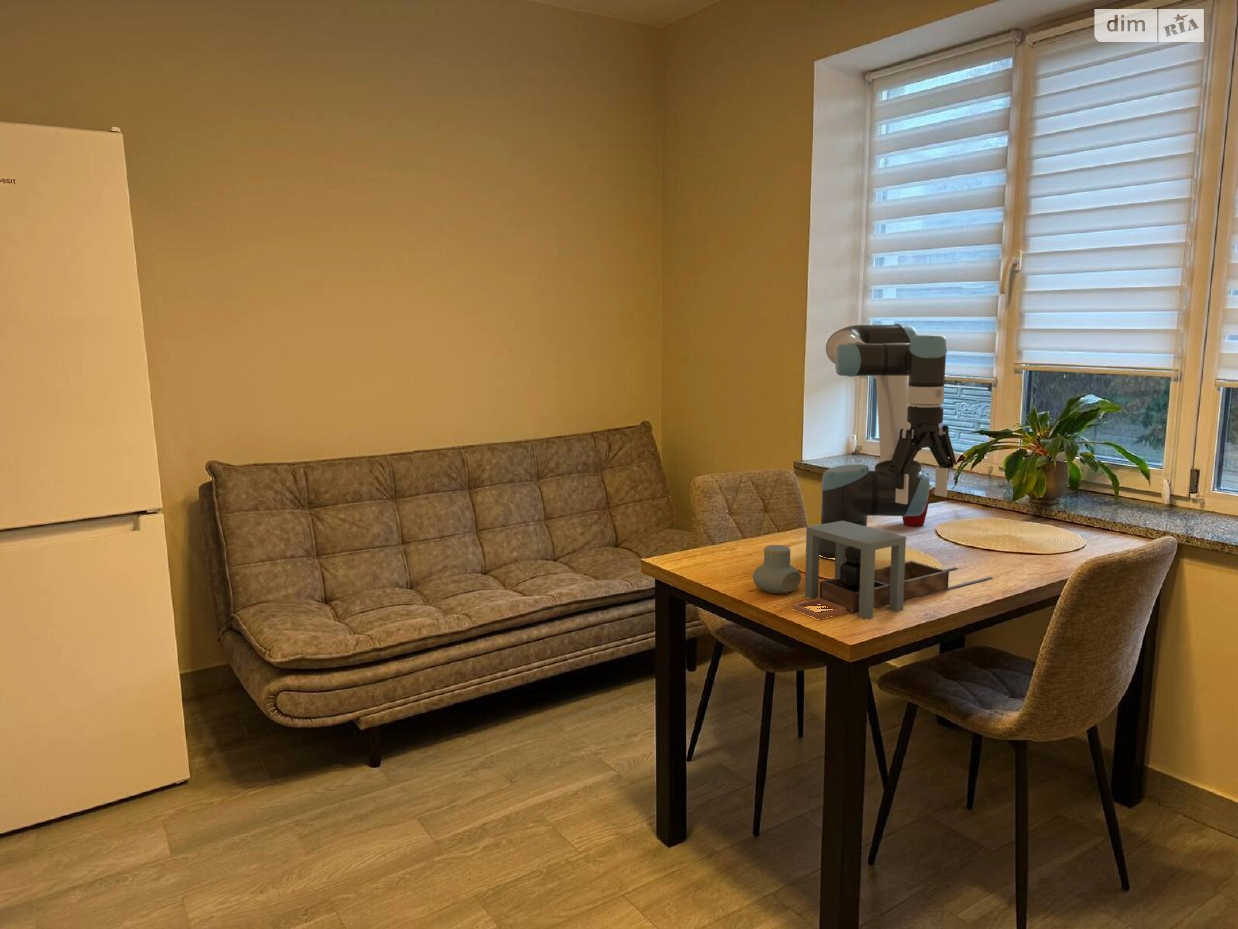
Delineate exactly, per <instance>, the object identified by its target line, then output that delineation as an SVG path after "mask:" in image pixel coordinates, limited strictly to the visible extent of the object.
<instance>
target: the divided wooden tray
mask: <svg viewBox="0 0 1238 929" xmlns="http://www.w3.org/2000/svg"><path fill="white" fill-rule="evenodd" d="M890 571H891V564H890V565H887V566H882V567H878V568H875V575H874V604H873V608H874V607H877V606H881V605H885V604H889V597H890ZM949 576H950V571H946V570H944V569H942V568H938V567H934V566H930V565H927V564H924V563H920V562H917V561H913V560H908V561H905V572H904V580H905V581H904V597H903V600H905V599H909V598H913V597H917V596H920V595H924V594H928V593H932V592H936V591H940V590H944V589H948V587H949V578H950V577H949ZM907 579H909V580H907ZM859 597H860V591H859V592H854V591H851V590H848V589H845V588H842V587H839V577H837V578H835V577H833V578H828V579H825V580H819V587H818V598H821V599H824V600H827V601H829V602H832V603H835V604H837V605H840V606H843V607H846V608H847V610H848V611H850V612H858V611H859Z"/></svg>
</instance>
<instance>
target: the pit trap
mask: <svg viewBox="0 0 1238 929" xmlns="http://www.w3.org/2000/svg"><path fill="white" fill-rule="evenodd" d="M817 604H821V605H817ZM807 606H826V608H825V607H824V608H822V607H821V609H833V610H828V611H827V610H826V611H821V612H814V611H812V610H809V609H810V608H809V609H807V608H804V607H807ZM827 607H828V608H827ZM792 609H794V610H797V611H799V612H801V613H804V614H806V615H809V616H812V617H814V618H816V619H822V620H824V619H823V618H826V617H830V616H834V617H837V615H838V616H841V615H840V614H842V615H845V614H844V613H846V614H847V610H848V609H847V608H846V607H843V606H840V605H837V604H835V603H832V602H829V601H827V600H824V599H821V598H819V597H818V598H814V599H809V600H805V601H801V602H797V603H793V604H791V610H792ZM817 609H818V608H817ZM819 609H820V608H819ZM801 613H800V614H801ZM806 615H805V616H806ZM830 618H831V617H830ZM816 619H815V620H816ZM826 619H827V618H826Z"/></svg>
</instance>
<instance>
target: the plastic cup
mask: <svg viewBox="0 0 1238 929" xmlns="http://www.w3.org/2000/svg"><path fill="white" fill-rule="evenodd" d="M933 489H934V485H932V484H931V483H930V487H929V495H928V500H927V504H926V507H925V510H924V512H923V513H922V514H921V515H918V516H906V517H903V516H901V517H902V523H903V525H904V526H906V527H912V528H914V527H915V528H919V527H920V528H921V527H923V526H924V524H925V522H926V517H927V513H928V508H929V503H930V498H931V494H932V491H933Z"/></svg>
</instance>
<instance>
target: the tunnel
mask: <svg viewBox="0 0 1238 929" xmlns="http://www.w3.org/2000/svg"><path fill="white" fill-rule="evenodd" d="M805 533H806V535H805V536H806V537H805V540H806V541H805V543H806V544H805V547H806V548H805V578H804V579H805V582H804V583H805V586H804V589H805V590H804V597H805V596H806V597H805V598H807V597H809V598H808V599H810V598H811V599H810V600H813V599H812V598H814V599H817V598H816V597H818V598H819V581H820V580H819V575H820V574H819V573H820V572H819V571H820V557H819V537H820V538H823V539H827V540H830V541H834V542H836V551H835V560H834V562H835V563H834V578H837V577H839V568H840V563H841V562H842V561H843V560H845V559H846V558H845V557H844V555H845V549H846V548H849V546H851V547H855V548H858V549H861V565H860V597H859V611H858V612H853V611H850V612H849V614H850V613H851V614H850V615H852V614H853V615H856V614H855V613H857V614H858V617H859V618H860V617H861V618H862V619H863V620H866V619H867V620H870V619H873V618H874V610H876V609H881V608H884V607H887V606H888V610H890V609H891V611H894V612H900V611H903V610H904V602H906V601H910V600H915V599H919V598H923V597H926V596H931V595H934V594H938V593H941V592H947V591H950V590H953V589H957V588H963V587H966V586H970V585H973V584H977V583H981V582H986V581H989V580H992V579H994V578H993V576H987V577H983V578H979V579H975V580H970V581H967V582H963V583H959V584H955V585H952V586H948V589H944V590H940V591H936V592H932V593H928V594H924V595H920V596H917V597H913V598H909V599H905V600H903V597H904V581H905V580H904V572H905V562H906V545H907V543H906V541H907V536H905V535H901V534H897V533H894V532H890V531H889V532H888V531H886V530H881V529H877V528H874V527H869V526H867V527H866V526H862V525H858V524H854V523H850V522H846V521H837V522H832V523H826V524H821V523H820V524H817V525H811V526H806V532H805ZM886 548H890V549H891V550H890V565H891V571H890V597H889V604H885V605H881V606H877V607H874V608H873V604H874V575H875V569H876V568H875V566H876V550H881V549H886ZM957 569H958V567H957V566H953V567H949V568H945V569H943V570H946V571H949V572H950V571H955V570H957ZM907 580H909V579H907ZM861 618H860V619H861Z"/></svg>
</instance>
